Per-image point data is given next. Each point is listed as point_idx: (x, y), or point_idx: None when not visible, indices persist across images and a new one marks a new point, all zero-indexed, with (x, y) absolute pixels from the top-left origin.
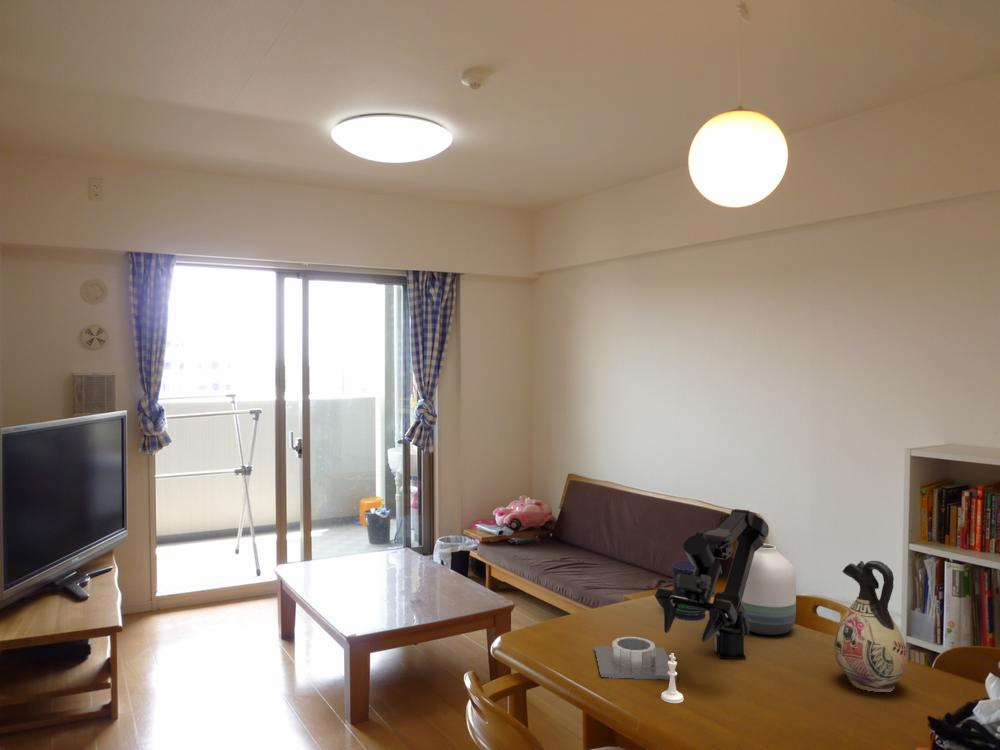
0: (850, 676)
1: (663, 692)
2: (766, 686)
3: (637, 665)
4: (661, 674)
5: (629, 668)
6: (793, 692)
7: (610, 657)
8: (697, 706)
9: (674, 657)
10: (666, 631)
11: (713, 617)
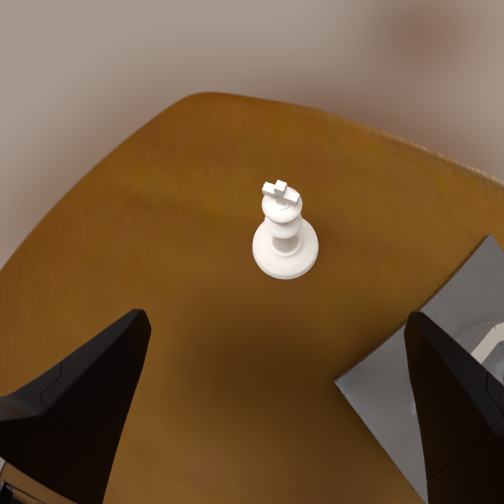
0: None
1: (311, 236)
2: (117, 466)
3: (456, 341)
4: (379, 355)
5: (467, 323)
6: None
7: None
8: (207, 245)
9: (266, 185)
10: (409, 320)
11: (10, 403)
